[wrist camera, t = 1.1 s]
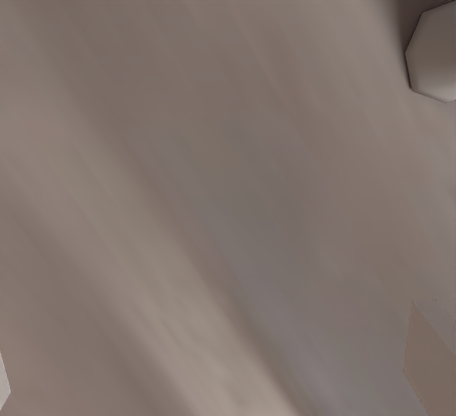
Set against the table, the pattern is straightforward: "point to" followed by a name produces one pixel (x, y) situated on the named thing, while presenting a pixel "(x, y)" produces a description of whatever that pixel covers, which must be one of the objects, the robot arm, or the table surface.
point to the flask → (434, 54)
